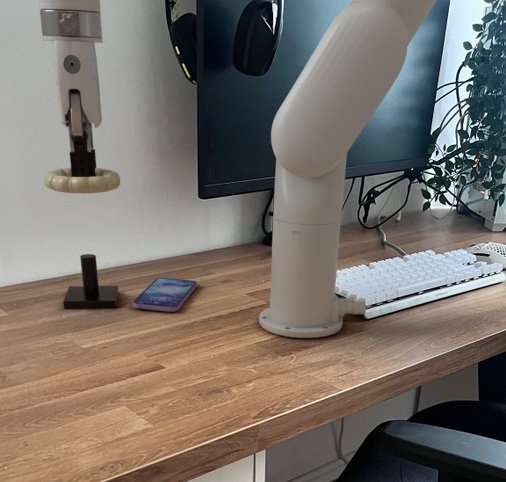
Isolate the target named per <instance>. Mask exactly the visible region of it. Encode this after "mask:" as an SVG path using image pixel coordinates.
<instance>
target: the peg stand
mask: <svg viewBox="0 0 506 482" xmlns="http://www.w3.org/2000/svg"><path fill="white" fill-rule="evenodd" d="M79 258H80V267H81V278H82V285H73V286H71V285H70V286H68V289H67V291H66V293H65V295H64V299H63V309H64V310H68V309H69V310H70V309H71V310H73V309H74V310H75V309H78V310H79V309H116V308H117V305H118V299H119V298H118V297H119V286H118V285H99V275H98V266H97V265H98V264H97V256H96V255H95V254H93V253H85V254H81V255H80V256H79Z"/></svg>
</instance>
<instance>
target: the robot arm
mask: <svg viewBox="0 0 506 482" xmlns="http://www.w3.org/2000/svg"><path fill="white" fill-rule="evenodd" d="M436 2H437V0H351V2H350V3H349V5H347V6H346V7H345V8H343V9H342V10H341V11H340V12H339V13H337V15H336V16H335V17H334V19H332V21H331V23H330V25H328V27H327V29H326V31H325V32H324V34H323V36H322V37H321V39H320V41H319V43H318V44H317V46H316V48H315V49H314V51H313V52H312V54H311V55H310V57H309V59H308V61H307V62H306V64H305V66H304V68H303V69H302V71H301V72H300V74H299V75H298V77H297V79H296V80H295V82H294V84H293V86H292V87H291V89H290V90H289V92H288V94H287V95H286V97H285V99H284V100H283V102H282V104H281V105H280V107H279V108H278V110H277V112H276V114H275V116H274V118H273V122H272V125H271V129H270V131H271V132H270V143H271V147H272V151H273V154H274V156H275V158H276V159H275V174H274V193H273V214H272V215H273V216H272V237H271V238H272V240H271V262H270V263H271V268H270V290H269V291H270V294H269V307H267V308H265V309H263V310H262V311H260V313H259V317H258V323H259V325H260V327H261V328H262V329H264V330H265V331H268V332H269V333H273V334H275V335H279V336H282V337H287V338H294V339H295V338H297V339H314V338H315V339H317V338H324V337H328V336H331V335H334V334H336V333H338V332H339V331H341V329H342V328H343V321H344V319H343V318H344V317H345V315H365V314H366V310H367V304H366V301H364V300H360V301H359V300H357V301H356V300H355V301H354V298H353V297H344V298H339V297H338V295H337V294H336V283H337V273H338V272H337V271H338V259H339V249H340V239H341V238H340V236H341V223H342V218H343V217H342V216H343V204H344V193H345V180H346V170H347V169H346V167H347V157H348V152H349V150H350V149H351V147H352V146H353V144H354V143H355V142H356V140H357V139H358V137H359V136H360V134H361V133H362V132H363V130H364V129H365V128H366V125H367V124H368V123H369V121H370V120H371V118H372V117H373V115H374V114H375V113H376V111H377V109H378V108H379V106H380V105H381V103H382V102H383V101H384V99H385V97H386V96H387V94H388V93H389V92H390V90H391V88H392V87H393V85H394V84H395V82H396V81H397V79H398V77H399V75H400V74H401V72H402V70H403V68H404V65H405V62H406V58H407V55H408V47H409V45H410V43H411V42H412V40H413V39H414V37H415V36H416V34H417V33H418V31H419V29H420V28H421V26H422V25H423V23H424V22H425V20H426V19H427V17H428V15H429V13H430V12H431V10H432V9H433V7H434V5H435V3H436ZM38 6H39V7H38V8H39V16H40V17H39V18H40V25H41V26H40V27H41V35H42V41H43V42H52V52H53V63H54V72H55V75H54V76H55V84H56V92H57V99H58V106H59V107H58V108H59V114H60V119H61V124H62V125H63V126H64V127H66V128H68V129H67V130H68V138H69V149H70V151H69V161H70V168H71V173H72V177H96V174H95V168H97V157H96V149H95V148H94V138H93V126H94V128H95V129H98V128H99V127H100V126H101V124H102V122H103V116H102V103H101V92H100V81H99V78H100V77H99V70H98V69H99V68H98V58H97V52H96V45H95V43H97V44H98V43H99V44H100V43H101V44H103V43H104V42H103V41H104V40H103V27H102V13H101V12H102V11H101V0H38Z"/></svg>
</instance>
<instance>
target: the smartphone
mask: <svg viewBox="0 0 506 482" xmlns="http://www.w3.org/2000/svg"><path fill="white" fill-rule="evenodd" d="M197 287H198V282H197V280H191V279H181V278H171V277H157V278H155V279H154V280H153V281H152V282H151V283H150V284H149V285H148V286H147V287H146V288H145V289H144V290H143V291H142V292H141V293H140V294H139V295H138V296H137V297H136V298H135V299H134V300H133V301H132V307H133V308H135V309H141V310H151V311H161V312H168V313H169V312H170V313H171V312H177V311H179V310H180V309H181V307H182V306H183V305H184V303H185V302H186V301H187V300H188V299H189V297H190V296H191V295H192V293H193V292H194V291H195V290H196V289H197Z"/></svg>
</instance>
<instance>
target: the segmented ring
mask: <svg viewBox="0 0 506 482" xmlns="http://www.w3.org/2000/svg"><path fill="white" fill-rule="evenodd" d="M95 174H96V177H72V173H71V167H65V168H56V169H53V170H49V171H47V172H46V174H45V176H44V178H43V183H44V186H45V187H46V188H47V189H49V190H52V191H55V192H57V193H68V194H98V193H99V194H100V193H108V192H110V191H115V190H117V189H118V188H119V187H120V186H121V176H120V174H118V172H117V171H114V170H112V169H111V170H110V169H107V168H98V167H96V168H95Z"/></svg>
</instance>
